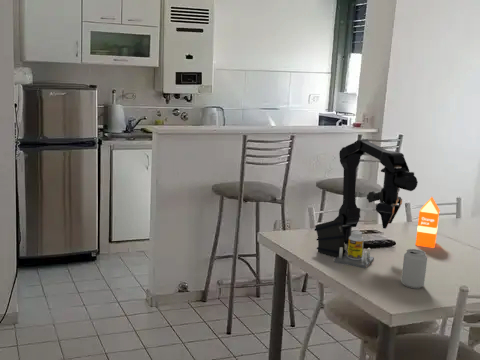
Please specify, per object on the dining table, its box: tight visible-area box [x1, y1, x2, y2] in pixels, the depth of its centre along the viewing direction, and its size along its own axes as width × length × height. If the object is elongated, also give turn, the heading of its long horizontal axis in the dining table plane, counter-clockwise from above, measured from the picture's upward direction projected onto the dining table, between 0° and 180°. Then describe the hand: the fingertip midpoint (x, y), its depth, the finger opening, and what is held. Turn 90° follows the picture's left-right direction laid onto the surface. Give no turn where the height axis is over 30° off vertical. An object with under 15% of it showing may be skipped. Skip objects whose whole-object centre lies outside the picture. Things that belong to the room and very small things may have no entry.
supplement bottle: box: [346, 230, 365, 260], centre depth 222 cm, size 6×6×10 cm
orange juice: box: [415, 196, 441, 249], centre depth 249 cm, size 8×9×20 cm
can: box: [400, 248, 428, 289], centre depth 199 cm, size 8×8×12 cm
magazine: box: [314, 219, 347, 259], centre depth 228 cm, size 4×13×15 cm, turn 43°
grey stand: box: [333, 243, 375, 269], centre depth 223 cm, size 12×12×5 cm
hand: (387, 225), depth 226 cm, fingers open, 9 cm apart
